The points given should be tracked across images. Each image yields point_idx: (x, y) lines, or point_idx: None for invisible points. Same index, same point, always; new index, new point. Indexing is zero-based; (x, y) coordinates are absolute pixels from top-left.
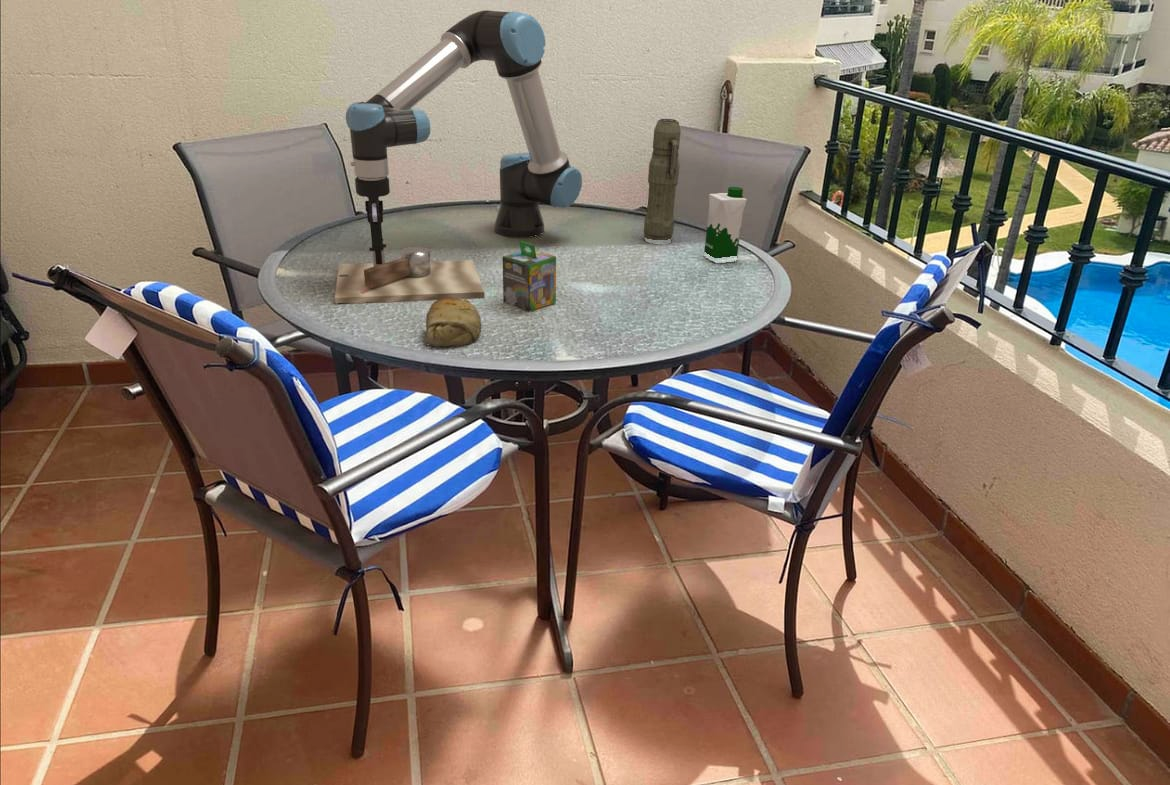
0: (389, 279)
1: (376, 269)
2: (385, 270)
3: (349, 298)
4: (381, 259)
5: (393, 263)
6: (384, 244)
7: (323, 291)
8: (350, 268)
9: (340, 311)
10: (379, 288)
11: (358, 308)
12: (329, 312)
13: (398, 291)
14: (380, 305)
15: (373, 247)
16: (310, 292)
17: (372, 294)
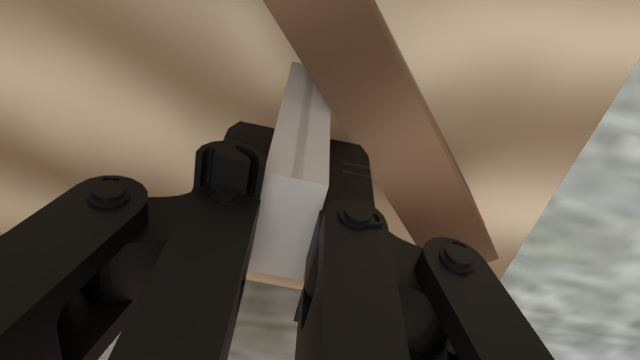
0: (405, 62)
1: (474, 211)
2: (431, 122)
3: (497, 274)
4: (368, 173)
5: (373, 44)
6: (199, 168)
7: (290, 305)
8: (35, 190)
9: (559, 299)
10: (446, 129)
11: (573, 240)
12: (543, 328)
13: (569, 30)
14: (605, 149)
15: (453, 355)
16: (287, 338)
17: (526, 185)
